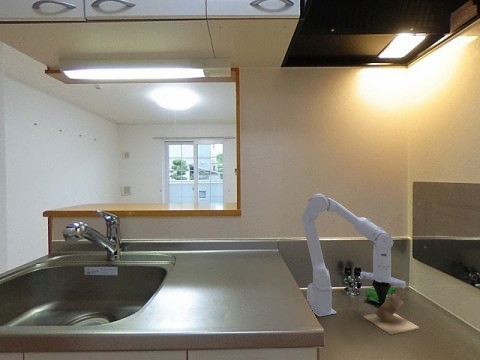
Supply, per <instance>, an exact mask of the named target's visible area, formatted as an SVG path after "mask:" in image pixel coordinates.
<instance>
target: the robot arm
mask: <svg viewBox="0 0 480 360" xmlns="http://www.w3.org/2000/svg"><path fill="white" fill-rule="evenodd" d="M324 212H328V213H335V214H337V215H339V216H340V217H341V218H343V219H345V220H346V221H347V222H349V223H350V224H352V225H353V229H354V231H356V232H357V233H359V235H361V236H362V237H364V238H366V239H367V240H369V241H370V242H372V243H373V251H372V252H373V253H372V272H368V271H367V272H366V271H361V272H360V279H366V280H371V281H373V282H372V287H374V289H375V291H376V293H377V296H378V300H379V303H378V304H381V305H382V304H383V303H384V302H385V299H386V295H387V292H388V290H389V288H390V287H391V286H393V287H394V286H395V287H400V289H405V288H406V285H407V283H406V281H405V280H401V279H398V278H395V277H392V247H393V245H394V243H395V242H394V240H393V238H392V235H390V234H389V233H388V232H386V231H385V230H384V228H382V226H378V225H376V224H375V223H373V222H372V219H370V218H369V217H367V218H366V217H365V216H363V217H362V216H361V217H359V216H357V215H356V214H354V213H353V212H352V211H350V210H348V209H347V208H346V207H344V206H343V205H342V204H341V203H339V202H337V201H336V200H335V199H332V198H330V197H328V196H326V195H324V193H319V192H318V193H315V194H313V195H312V196H311V197H310V199H309V200H308V201H307V203H306V205H305V207H304V211H303V213H302V214H301V215H302V216H301V221H302V226H303V229H304V230H303V231H304V234H305V238H306V243H307V248H308V251H309V256H310V257H309V258H310V261H311V265H312V266H311V267H312V270H313V271H312V276H313V277H312V282H311V283H309V284H308V286H307V288H306V302H307V301H308V303H309V305H310V306H311V308H312V310H313V312H314V313H313V312H312V313H313V314H315V315H316V316H317V317H324V316H330V315H335V314H337V311H336V310H334V308H332V301H333V299H332V295H333V294H332V285H331V284H332V281H331V277H330V274H331V273H330V271H329V269H328V268H327V267H326V264H325V260H324V254H323V251H322V246H321V243H320V237H319V234H318V233H319V232H318V229H317V225H316V220H317V219H318V217H319V216H320V215H321V214H322V213H324Z"/></svg>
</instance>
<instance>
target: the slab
mask: <svg viewBox="0 0 480 360" xmlns="http://www.w3.org/2000/svg"><path fill="white" fill-rule="evenodd" d="M404 303H405V302H404V300H402V299H401V298H400V297H399V296H398V295H397V294H396V292H395V293H393V294H392V295H391V296H390V297H389V298H388V299H387V300H386V301H385V302H384V303H383V304H382V303H381V306H379V308H377V310H375V312H374V314H376V315H377V316H378V317H379V318H380V319H381V320H382V321H383V322H384V323H385V322H386V321H387V320H388V319H389V318H390V317H391V316H392V315H393V314H394V313H395V314H396V312H397V311H398V310H399V309H400V307H401V306H403V304H404Z"/></svg>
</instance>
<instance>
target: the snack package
mask: <svg viewBox="0 0 480 360" xmlns="http://www.w3.org/2000/svg"><path fill="white" fill-rule="evenodd" d="M393 293H395V294H396V288H395V287H394V286H393V285H391V287H390V288H389V290H388V292H387V295H386V299H385V301H386V300H387V299H388V298H389V297H390V296H391V295H392V294H393ZM365 297H366V298H367V300H368V301H372V302H375V303H376V304H377V303H378V304H380V303H379V300H378V296H377V293H376V291H375V289H374V287H373V286H371V287H369V288H368V289H367V290H366V292H365Z"/></svg>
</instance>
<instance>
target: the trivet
mask: <svg viewBox="0 0 480 360" xmlns="http://www.w3.org/2000/svg"><path fill="white" fill-rule="evenodd" d="M363 318H364V319H366V321H367V320H368V322H370V323H372V324H373V325H374V326H377V327H378V328H380V329H382V330H383V331H384V332H386V333H387V334H389V336H394V335H398V334H402V333H406V332H411V331H415V330H419V329H420V326H419V325H416V324H414V322H412V321H409V320H408V319H406V318H404V317H402V316H400V315H398V314H397V313H396V312H395V313H394V314H393V315H392V316H391V317H390V318H389V319H388V320H387V321H386V322H385V323H384V322H383V321H382V320H381V319H380V318H379V317H378V316H377V315H376V314H375V313H371V314H366V315H363Z"/></svg>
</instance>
